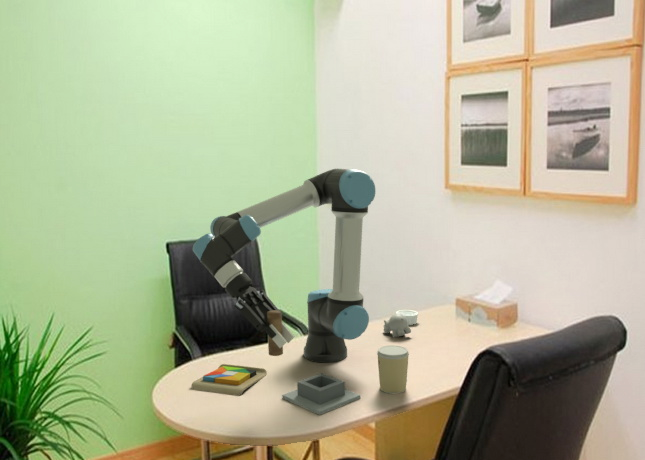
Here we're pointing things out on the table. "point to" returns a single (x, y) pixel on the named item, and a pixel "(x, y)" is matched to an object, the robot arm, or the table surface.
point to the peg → (276, 320)
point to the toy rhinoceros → (397, 325)
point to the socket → (321, 394)
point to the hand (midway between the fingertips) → (287, 342)
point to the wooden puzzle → (230, 379)
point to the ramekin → (409, 316)
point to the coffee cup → (392, 368)
